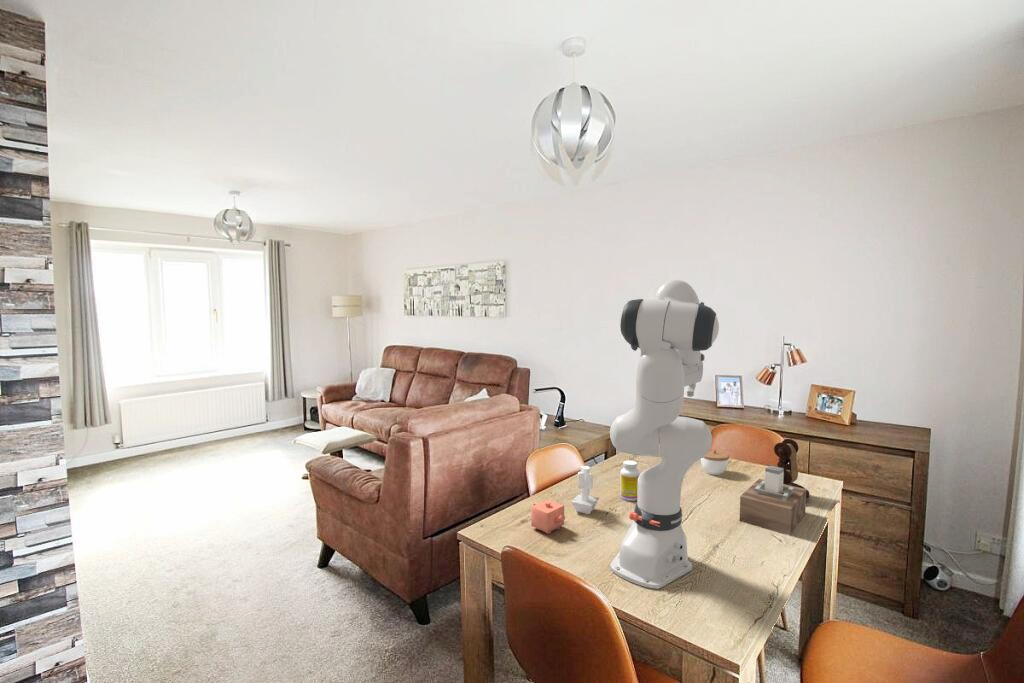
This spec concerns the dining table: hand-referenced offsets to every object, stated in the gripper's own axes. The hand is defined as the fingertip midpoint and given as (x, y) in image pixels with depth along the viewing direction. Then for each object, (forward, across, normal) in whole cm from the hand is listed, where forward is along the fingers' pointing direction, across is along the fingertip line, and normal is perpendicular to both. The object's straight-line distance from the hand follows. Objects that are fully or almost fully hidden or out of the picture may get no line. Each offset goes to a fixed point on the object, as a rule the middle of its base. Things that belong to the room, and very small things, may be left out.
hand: (684, 398), depth 155 cm
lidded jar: (+37, +40, +4) cm, 55 cm away
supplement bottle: (+37, -5, +17) cm, 41 cm away
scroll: (+37, +33, -23) cm, 55 cm away
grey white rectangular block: (+29, +12, -24) cm, 40 cm away
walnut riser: (+37, +12, -24) cm, 46 cm away
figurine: (+37, -24, +23) cm, 50 cm away
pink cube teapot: (+37, -42, +24) cm, 61 cm away
